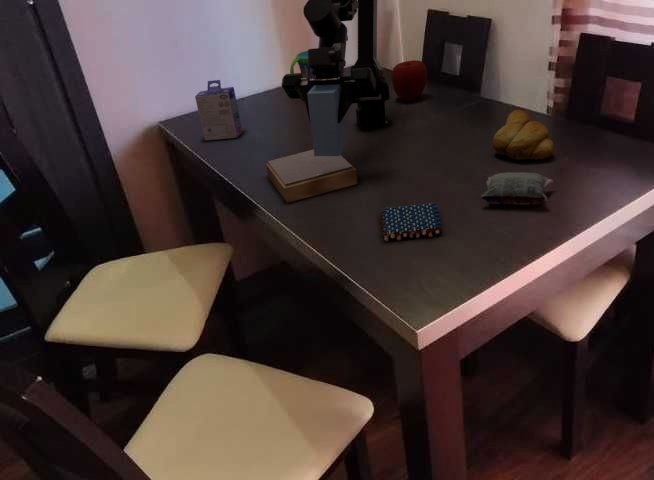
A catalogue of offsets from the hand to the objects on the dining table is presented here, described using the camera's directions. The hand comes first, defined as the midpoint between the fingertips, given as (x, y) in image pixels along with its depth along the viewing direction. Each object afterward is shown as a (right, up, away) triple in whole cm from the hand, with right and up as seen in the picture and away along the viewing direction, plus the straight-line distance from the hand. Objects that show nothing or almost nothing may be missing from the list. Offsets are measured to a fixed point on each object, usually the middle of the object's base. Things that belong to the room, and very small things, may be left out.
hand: (324, 123), depth 128 cm
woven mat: (+15, -24, -12) cm, 31 cm away
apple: (+26, +23, +46) cm, 57 cm away
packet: (+1, -4, +5) cm, 7 cm away
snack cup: (+1, +35, +69) cm, 77 cm away
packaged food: (+35, -18, -10) cm, 41 cm away
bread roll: (+42, -5, +5) cm, 43 cm away
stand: (-2, -9, +11) cm, 15 cm away
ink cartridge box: (-25, +12, +45) cm, 53 cm away
